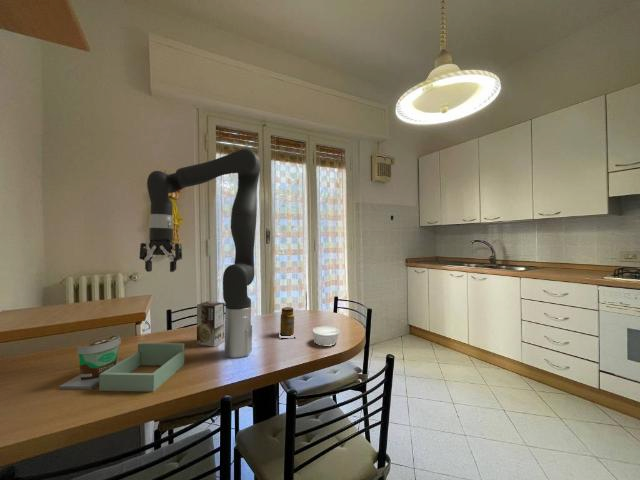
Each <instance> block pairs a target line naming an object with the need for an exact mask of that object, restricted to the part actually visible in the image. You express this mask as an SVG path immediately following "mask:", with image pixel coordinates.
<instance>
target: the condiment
mask: <svg viewBox="0 0 640 480" xmlns="http://www.w3.org/2000/svg"><path fill="white" fill-rule="evenodd" d="M279 324H280V326H279V328H280V332H279V333H280V335H281V336H291V335H293V334H295V314H294V307H287V306H285V307H283V308H281V314H280V323H279ZM278 339H279V340H282V339H281V338H279V337H278Z"/></svg>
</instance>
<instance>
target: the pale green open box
mask: <svg viewBox="0 0 640 480" xmlns="http://www.w3.org/2000/svg"><path fill="white" fill-rule="evenodd" d="M118 362H119V363H118V364H116V365H114V366H113V367H111V368H109V369H108V370H106V371H104V372H103V373H101V374H100V378H99V385H98V386H99V387H98V390H99V391H100V392H155V391H157V389H158V388H159V387H160V386H162V385H163V384H164V383H165V382H166V381H168V380H169V378H171V377H172V376H173V375H174V374H175V373H176V372H177V371H178V370H180V369H181V368H182V367H183V366H184V365H185V343H183V342H182V343H179V342H178V343H176V342H174V343H173V342H171V343H170V342H168V343H167V342H139V343H137V351H136V352H134V353H133V354H131V355H129V356H128V357H126V358H125V359H123V360H121V361H118ZM140 366H160V367H158V368H157V369H156V370H155V371H153V372H152V373H151V372H148V373H147V372H146V373H145V372H133V371H134V370H135V369H137V368H139V367H140Z"/></svg>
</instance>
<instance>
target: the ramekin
mask: <svg viewBox="0 0 640 480" xmlns="http://www.w3.org/2000/svg"><path fill="white" fill-rule="evenodd" d="M339 335H340V330H339V329H338V328H336V327H333V326H325V325H324V326H317V327H314V328H313V329H312V337H313V342H314V344H315V343H316V344H320V345H330V344H334V343H336V342H337V343H338V342H339V341H338V340H339ZM337 343H336V344H337ZM316 344H315V345H316Z"/></svg>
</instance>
